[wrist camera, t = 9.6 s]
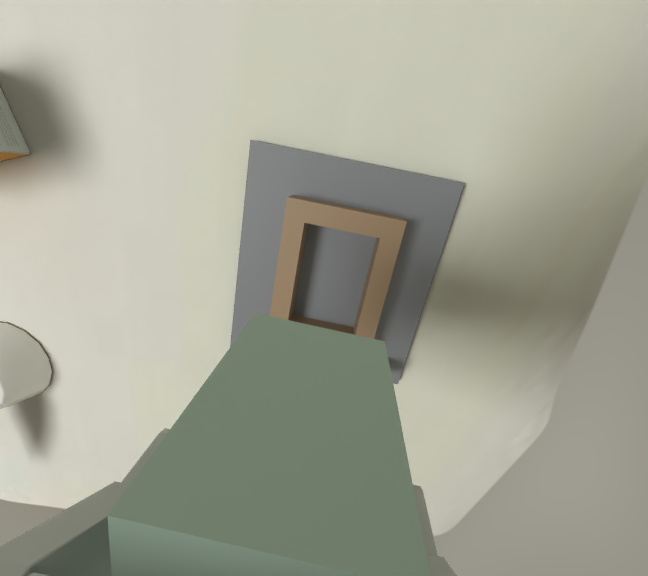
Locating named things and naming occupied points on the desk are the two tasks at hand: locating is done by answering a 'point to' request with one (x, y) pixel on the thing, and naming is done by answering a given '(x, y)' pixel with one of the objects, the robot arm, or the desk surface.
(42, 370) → the inkwell
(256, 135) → the desk surface
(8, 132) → the small box
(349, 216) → the keyed plate
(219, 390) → the sage block
